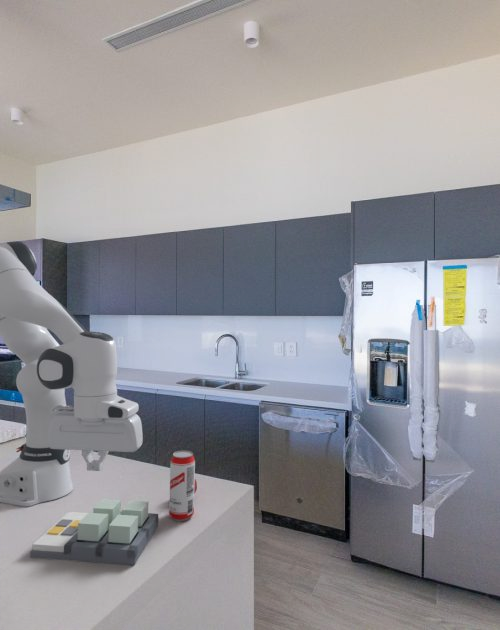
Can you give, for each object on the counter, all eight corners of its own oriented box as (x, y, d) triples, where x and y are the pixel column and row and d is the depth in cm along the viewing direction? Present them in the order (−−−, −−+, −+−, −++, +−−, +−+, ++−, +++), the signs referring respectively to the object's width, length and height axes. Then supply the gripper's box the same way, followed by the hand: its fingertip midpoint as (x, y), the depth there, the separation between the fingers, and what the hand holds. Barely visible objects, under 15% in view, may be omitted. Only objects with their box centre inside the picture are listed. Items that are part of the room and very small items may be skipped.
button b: (93, 523, 90) (93, 508, 90) (102, 513, 94) (102, 498, 94) (112, 524, 89) (112, 509, 89) (120, 514, 94) (121, 500, 94)
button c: (108, 542, 82) (108, 525, 82) (117, 530, 87) (118, 514, 87) (129, 543, 82) (130, 526, 82) (137, 531, 87) (138, 515, 87)
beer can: (182, 525, 96) (183, 459, 96) (163, 517, 99) (165, 454, 99) (198, 514, 101) (200, 452, 101) (180, 508, 104) (181, 448, 105)
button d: (121, 525, 89) (122, 509, 89) (129, 515, 94) (129, 500, 94) (141, 526, 89) (141, 511, 89) (148, 516, 93) (148, 501, 93)
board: (29, 557, 82) (30, 542, 82) (69, 520, 97) (69, 508, 97) (134, 565, 80) (135, 550, 80) (158, 526, 95) (158, 513, 95)
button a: (77, 539, 83) (78, 523, 83) (88, 528, 88) (88, 512, 88) (98, 541, 83) (98, 524, 83) (108, 529, 87) (108, 514, 87)
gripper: (41, 408, 83) (40, 473, 83) (134, 410, 81) (134, 477, 81) (58, 402, 89) (58, 462, 89) (145, 404, 87) (145, 466, 87)
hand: (95, 469), depth 85 cm, fingers closed
